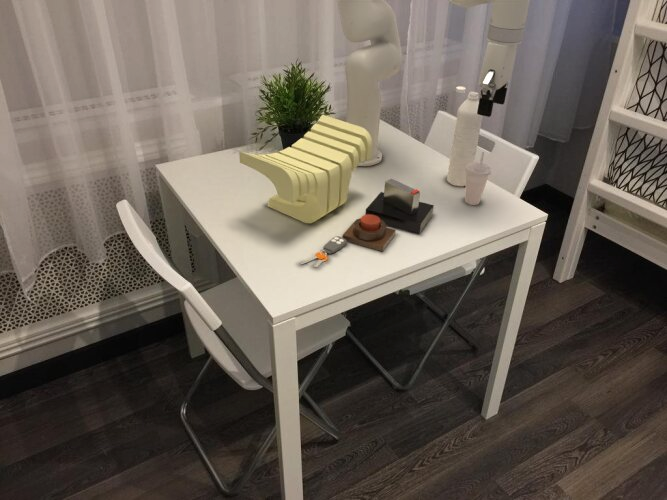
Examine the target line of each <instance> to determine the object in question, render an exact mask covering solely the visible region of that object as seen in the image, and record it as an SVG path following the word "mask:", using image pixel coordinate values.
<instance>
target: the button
mask: <svg viewBox="0 0 667 500" xmlns="http://www.w3.org/2000/svg"><path fill="white" fill-rule="evenodd" d="M360 218H361V224H360V227H361V228H362V229H364V230H367V231H375V230H378V229H379V227H380V218H379V217H378V216H376V215H371V214H368V215H365V214H364V215H362V216H361V217H360Z"/></svg>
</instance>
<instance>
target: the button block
mask: <svg viewBox="0 0 667 500" xmlns="http://www.w3.org/2000/svg"><path fill="white" fill-rule="evenodd" d="M360 224H361V217H359V218H357V219H355V220H354V222H353V223H352V224H351V225H350V226H349V227H348V228H347V229H346V231H345V232H344V233H343V234H342V238H344V239H346V240H347V243H350V244H353V245H354V244H355V245H358V246H360V247H365V248H367V249H371V250H375V251H378V252H382V253H383V252H384V251H385V250H386V248H387V247H388V245H389V244H390V242H391V241H392V240H393V239H394V238H395V236H396V229H395V228H391V227H388V226H387V225H386V224H385V222H383V221H382V220H381V219H380V227H379V229H378V230H375V231H367V230H364V229H362V228H361V227H360Z"/></svg>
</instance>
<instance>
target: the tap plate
mask: <svg viewBox="0 0 667 500" xmlns="http://www.w3.org/2000/svg"><path fill="white" fill-rule="evenodd" d="M383 199H384V191H381V192H379V194H377V196H376V197H375V198H374V199H373V200H372V201H371V202H370V204H369V205H368V206H367V207H366V208H365V214H364V215H368V214H371V215H376V216H378V217H379V218H380V219H381V220H382V221H383V222H385V224H386V227H389V228H393V229H398V230H402V231H404V232H409V233H413V234H417V235H421V233H422V231H423V230H424V228H426V225H427V224H428V223H429V221H430V220H431V218H432V217H433V213H434V207H435V205H434V204H430V203H427V202H422V201H419V205H418V212H417V213H415V214H413V215H409V214H407V213H405V212H403V211H401V210H399V209H397V208H395V207H393V206H391V205H389V204H387V203H385V202H383Z"/></svg>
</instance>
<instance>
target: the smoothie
mask: <svg viewBox="0 0 667 500" xmlns="http://www.w3.org/2000/svg"><path fill="white" fill-rule="evenodd" d="M484 155H485V152H484V151H483V152H481V155H480V160H479V162H474V163H469V164H467V165H466V168H465V171H466V186H465V191H464V202H465V203H466V204H467V205H471V206H477V205H479V204H480V202H481V199H482V196H483V193H484V191H485V188H486V184H487V183H488V179H489V176H490V175H491V174H492V168H491V166H489V165H487V164H485V163H483V160H484V157H485V156H484Z"/></svg>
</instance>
